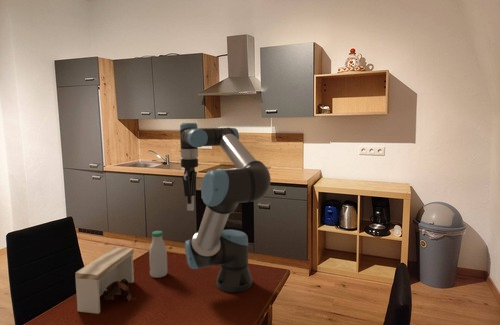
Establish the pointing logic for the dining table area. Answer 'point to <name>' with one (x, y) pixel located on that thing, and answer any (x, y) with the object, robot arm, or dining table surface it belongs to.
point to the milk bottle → (158, 256)
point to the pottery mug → (117, 290)
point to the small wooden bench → (102, 277)
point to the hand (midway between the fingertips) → (190, 210)
